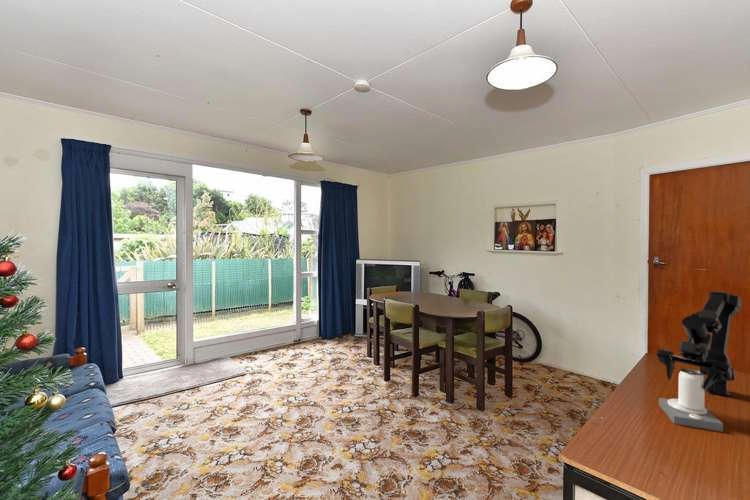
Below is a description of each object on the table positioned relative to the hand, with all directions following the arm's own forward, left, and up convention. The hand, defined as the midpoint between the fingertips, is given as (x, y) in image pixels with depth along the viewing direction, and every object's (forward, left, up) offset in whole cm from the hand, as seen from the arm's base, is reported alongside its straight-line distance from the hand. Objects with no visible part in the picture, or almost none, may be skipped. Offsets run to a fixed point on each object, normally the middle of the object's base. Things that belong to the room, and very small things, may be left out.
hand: (685, 383), depth 116 cm
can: (-1, +2, -8) cm, 8 cm away
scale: (0, +1, -11) cm, 11 cm away
